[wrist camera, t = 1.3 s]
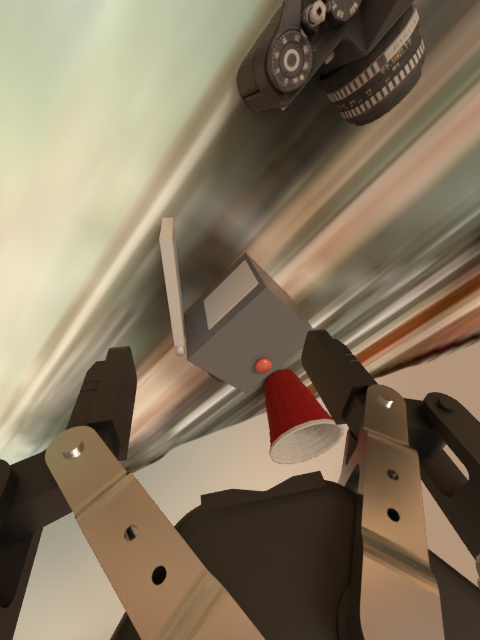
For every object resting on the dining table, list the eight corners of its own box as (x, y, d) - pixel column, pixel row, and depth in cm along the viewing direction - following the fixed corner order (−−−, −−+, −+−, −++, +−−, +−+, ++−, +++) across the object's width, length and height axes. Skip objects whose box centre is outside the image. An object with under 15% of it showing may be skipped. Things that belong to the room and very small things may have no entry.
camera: (300, 174, 28) (351, 189, 20) (222, 78, 22) (249, 44, 14) (418, 38, 24) (544, -15, 15) (357, -123, 18) (502, -334, 10)
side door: (173, 216, 27) (172, 240, 21) (183, 313, 34) (185, 355, 27) (161, 216, 27) (157, 241, 20) (174, 314, 34) (174, 356, 27)
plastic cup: (265, 410, 49) (286, 477, 40) (238, 378, 43) (257, 448, 34) (317, 384, 48) (353, 446, 38) (298, 347, 42) (335, 410, 32)
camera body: (289, 295, 36) (320, 339, 28) (223, 354, 40) (234, 406, 32) (245, 252, 31) (268, 289, 24) (174, 322, 35) (174, 375, 27)
